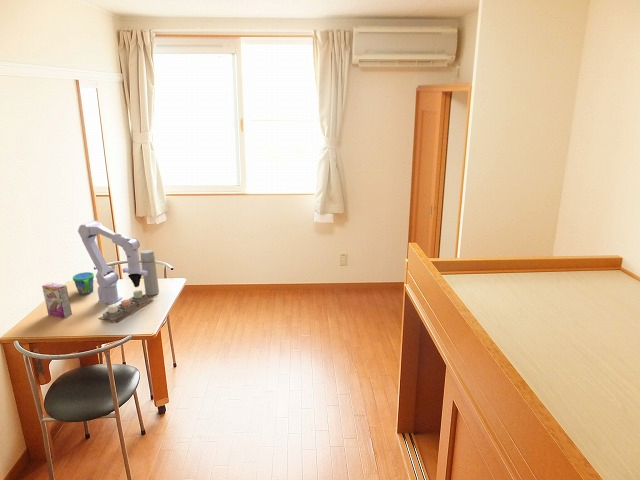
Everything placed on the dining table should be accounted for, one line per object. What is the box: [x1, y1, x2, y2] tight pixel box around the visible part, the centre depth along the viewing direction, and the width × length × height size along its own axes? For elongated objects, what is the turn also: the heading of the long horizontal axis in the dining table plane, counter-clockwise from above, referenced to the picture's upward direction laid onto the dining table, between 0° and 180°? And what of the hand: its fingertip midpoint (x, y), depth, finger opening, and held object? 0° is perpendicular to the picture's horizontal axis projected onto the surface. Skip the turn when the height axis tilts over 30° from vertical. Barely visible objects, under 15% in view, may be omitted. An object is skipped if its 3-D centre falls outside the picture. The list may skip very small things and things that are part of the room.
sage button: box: [133, 290, 144, 300], centre depth 240 cm, size 4×4×4 cm
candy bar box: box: [42, 282, 73, 319], centre depth 226 cm, size 11×5×16 cm, turn 71°
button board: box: [98, 294, 154, 324], centre depth 233 cm, size 12×26×3 cm, turn 160°
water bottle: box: [139, 249, 160, 296], centre depth 249 cm, size 9×8×25 cm
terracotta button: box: [120, 298, 131, 307], centre depth 233 cm, size 4×4×4 cm
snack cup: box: [72, 271, 95, 295], centre depth 253 cm, size 16×10×10 cm
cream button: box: [107, 303, 118, 315], centre depth 224 cm, size 4×4×4 cm
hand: (137, 286), depth 236 cm, fingers closed
